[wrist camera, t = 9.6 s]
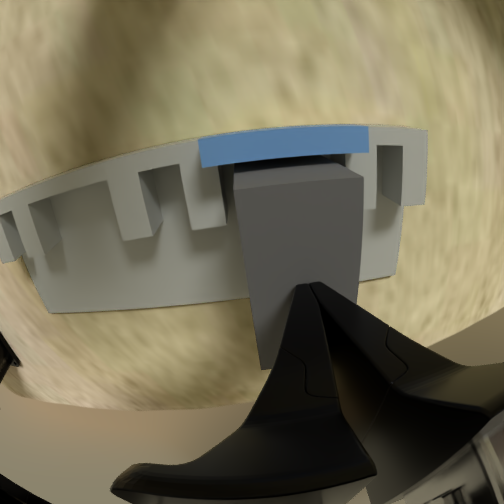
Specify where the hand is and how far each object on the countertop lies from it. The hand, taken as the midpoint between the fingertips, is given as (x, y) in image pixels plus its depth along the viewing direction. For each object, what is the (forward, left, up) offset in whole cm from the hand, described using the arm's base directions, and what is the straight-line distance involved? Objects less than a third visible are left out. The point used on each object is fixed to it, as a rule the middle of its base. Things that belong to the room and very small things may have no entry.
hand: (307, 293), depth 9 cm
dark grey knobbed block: (-1, 0, -5) cm, 6 cm away
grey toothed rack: (+1, +5, -6) cm, 8 cm away
